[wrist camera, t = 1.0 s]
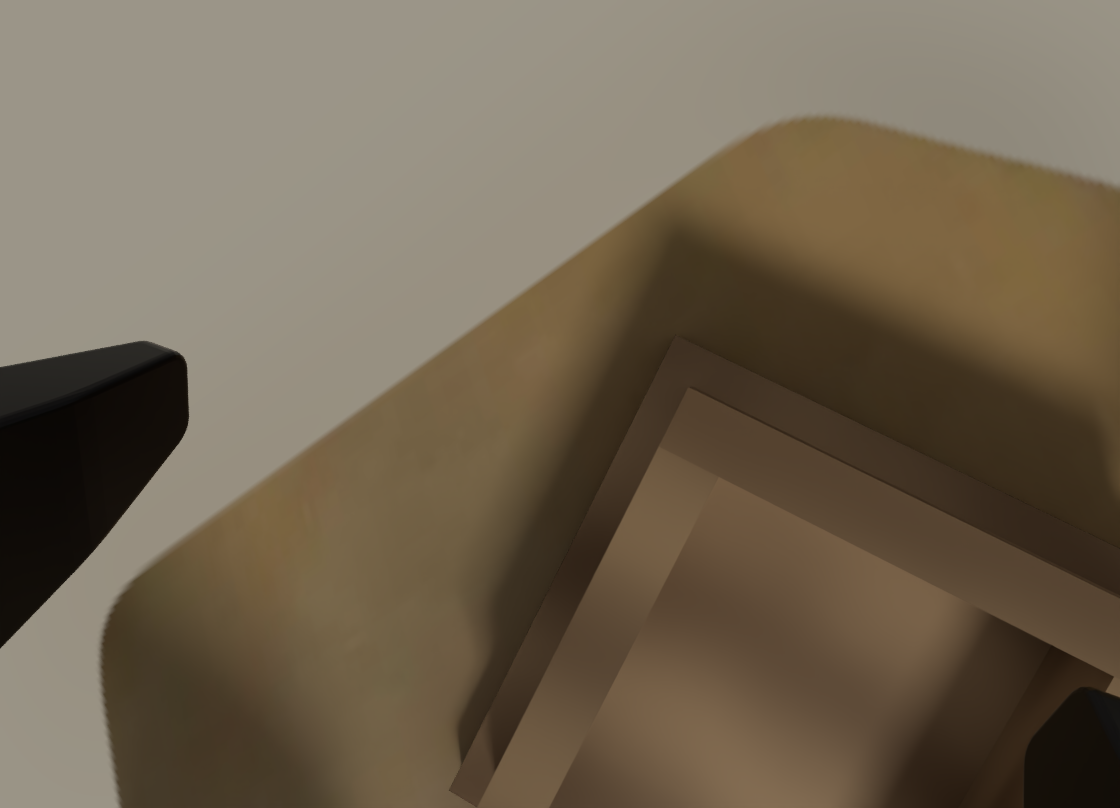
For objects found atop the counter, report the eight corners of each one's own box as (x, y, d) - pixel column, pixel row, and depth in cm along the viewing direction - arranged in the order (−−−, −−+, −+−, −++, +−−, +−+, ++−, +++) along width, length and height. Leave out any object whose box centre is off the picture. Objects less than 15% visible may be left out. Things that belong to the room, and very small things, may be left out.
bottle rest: (916, 1041, 23) (960, 1189, 18) (462, 770, 25) (410, 848, 21) (1187, 582, 21) (1300, 631, 17) (677, 337, 23) (668, 327, 19)
